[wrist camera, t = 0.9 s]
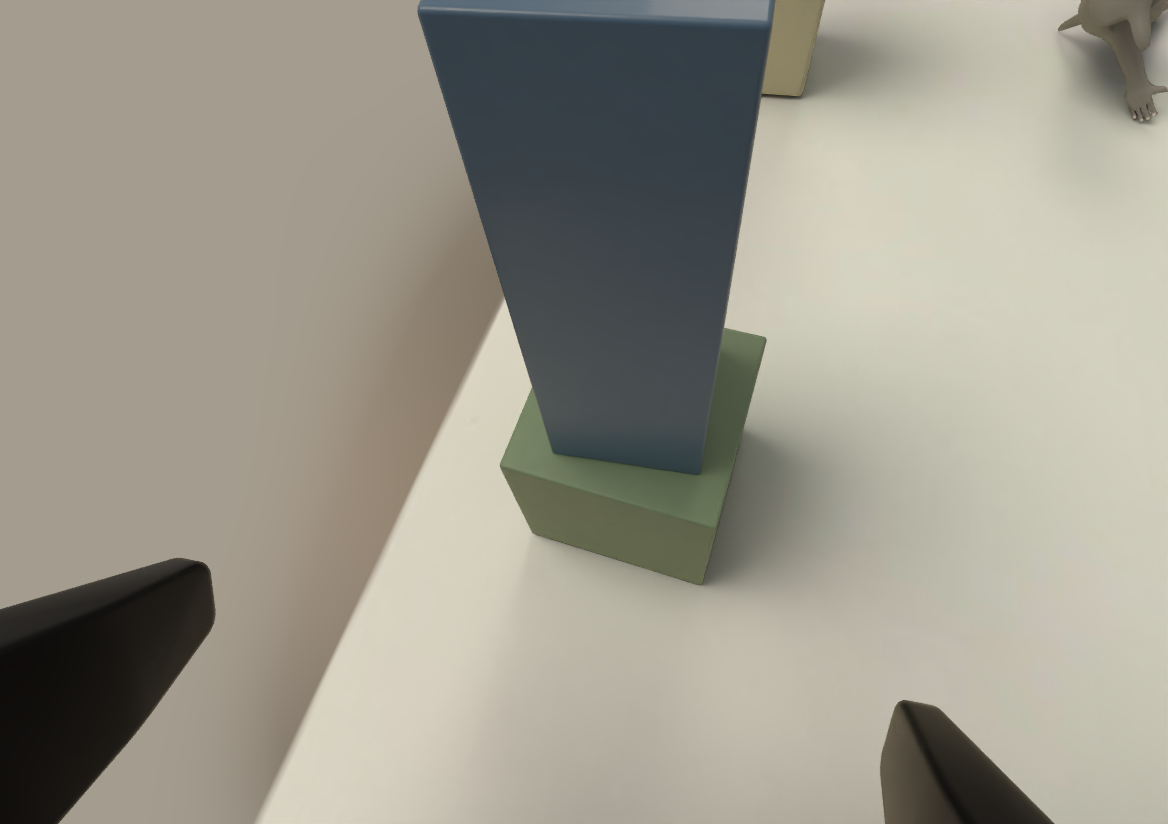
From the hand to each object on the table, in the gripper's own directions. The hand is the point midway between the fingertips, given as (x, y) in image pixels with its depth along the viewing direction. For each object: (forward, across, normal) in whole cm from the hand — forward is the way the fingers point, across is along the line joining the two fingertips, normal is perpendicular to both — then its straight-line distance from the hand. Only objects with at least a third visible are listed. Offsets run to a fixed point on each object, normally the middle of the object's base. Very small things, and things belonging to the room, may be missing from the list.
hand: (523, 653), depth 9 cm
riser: (+16, 0, +5) cm, 16 cm away
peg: (+11, 0, 0) cm, 11 cm away
